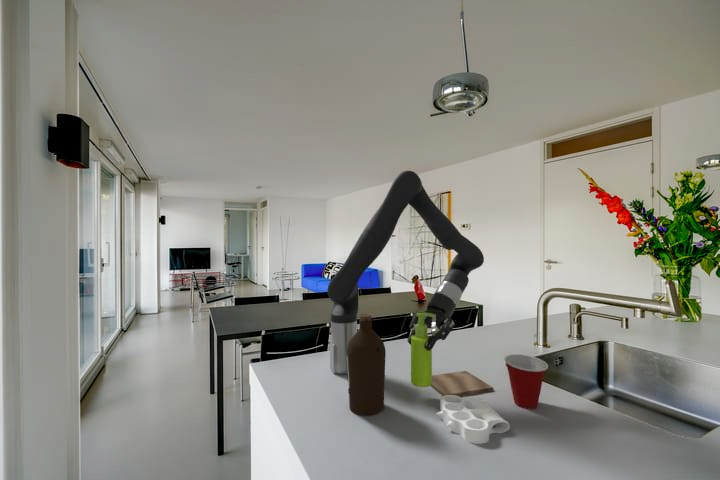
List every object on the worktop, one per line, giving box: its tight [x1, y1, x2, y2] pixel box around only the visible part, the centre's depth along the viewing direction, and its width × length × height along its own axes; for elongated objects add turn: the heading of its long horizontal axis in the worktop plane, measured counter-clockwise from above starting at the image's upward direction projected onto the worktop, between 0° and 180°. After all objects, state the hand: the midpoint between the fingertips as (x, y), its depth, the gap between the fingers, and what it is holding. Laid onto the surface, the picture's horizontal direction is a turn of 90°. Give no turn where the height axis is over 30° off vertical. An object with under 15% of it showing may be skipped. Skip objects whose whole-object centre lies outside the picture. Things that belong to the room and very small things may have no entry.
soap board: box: [429, 370, 494, 397], centre depth 106 cm, size 16×14×1 cm
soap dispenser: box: [410, 312, 436, 388], centre depth 98 cm, size 6×7×20 cm
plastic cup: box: [504, 353, 549, 410], centre depth 93 cm, size 11×11×12 cm
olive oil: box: [346, 313, 387, 416], centre depth 93 cm, size 11×11×25 cm
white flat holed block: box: [436, 395, 511, 445], centre depth 84 cm, size 3×18×15 cm
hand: (418, 346), depth 97 cm, fingers closed on soap dispenser, 6 cm apart
